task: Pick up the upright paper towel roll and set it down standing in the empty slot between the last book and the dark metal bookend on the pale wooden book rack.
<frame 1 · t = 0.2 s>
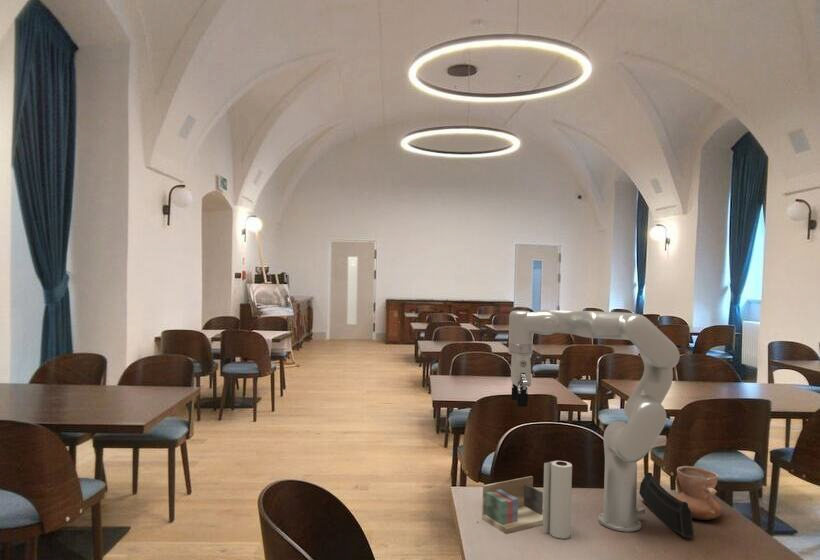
hand: (519, 403, 178), 37 cm above the table, tool pointing down, fingers open, 9 cm apart
paper towel roll: (558, 534, 167), on the table
book rack: (519, 519, 176), on the table
ceramic jug: (694, 514, 184), on the table
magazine: (663, 520, 180), on the table
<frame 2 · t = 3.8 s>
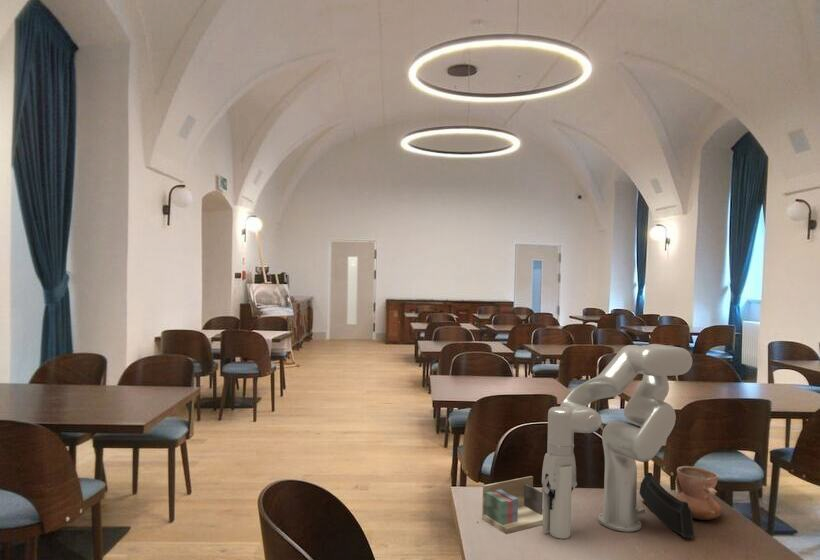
hand: (559, 510, 167), 7 cm above the table, tool pointing down, fingers closed on paper towel roll, 3 cm apart
paper towel roll: (558, 534, 167), on the table, touching gripper
everything else where it was.
when the fingers open (11 cm above the table, at t = 9.9 s): paper towel roll drops 2 cm, resting on book rack.
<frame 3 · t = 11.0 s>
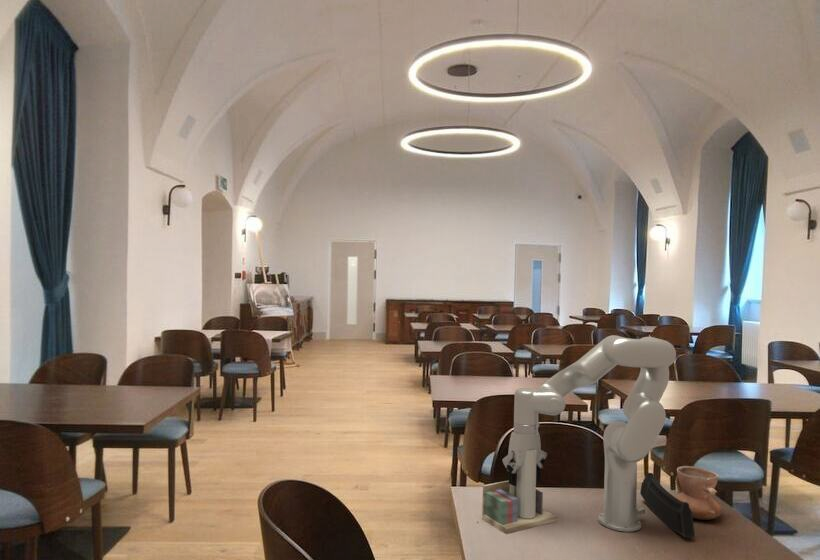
hand: (524, 482, 177), 12 cm above the table, tool pointing down, fingers open, 9 cm apart
paper towel roll: (523, 515, 177), point 1 cm above the table, touching book rack
everything else where it was.
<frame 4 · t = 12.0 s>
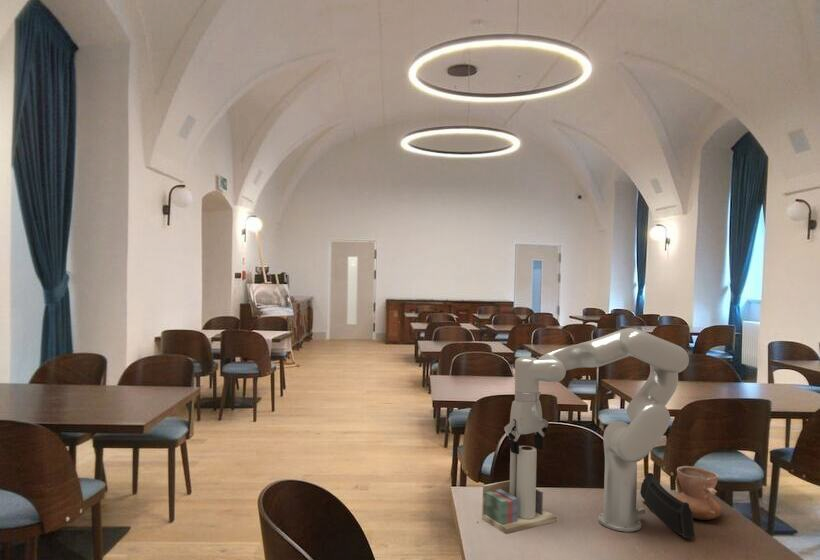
hand: (526, 450, 177), 22 cm above the table, tool pointing down, fingers open, 9 cm apart
nothing on the table moved.
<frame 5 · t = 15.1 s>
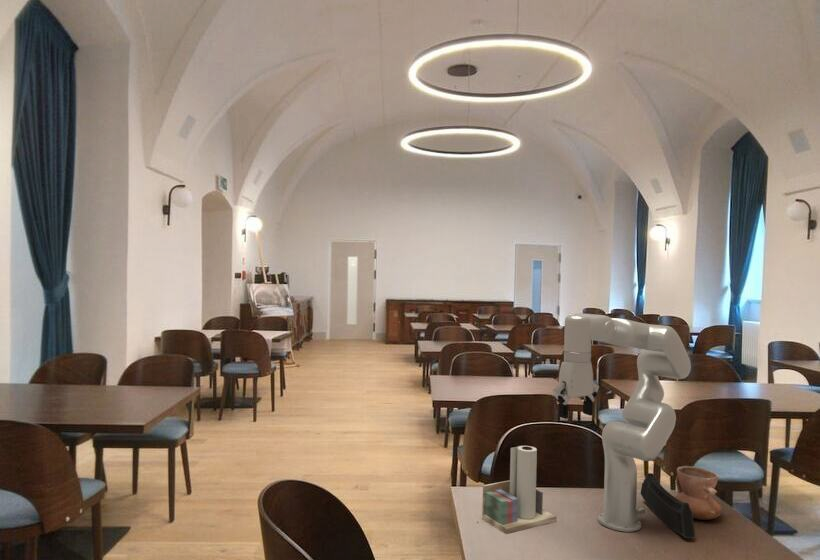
hand: (575, 416, 163), 36 cm above the table, tool pointing down, fingers open, 9 cm apart
nothing on the table moved.
at the end: paper towel roll 0.2 cm from the target spot on the book rack, point 1.3 cm above the book rack's base; paper towel roll tilted 0°; the gripper is holding nothing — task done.
